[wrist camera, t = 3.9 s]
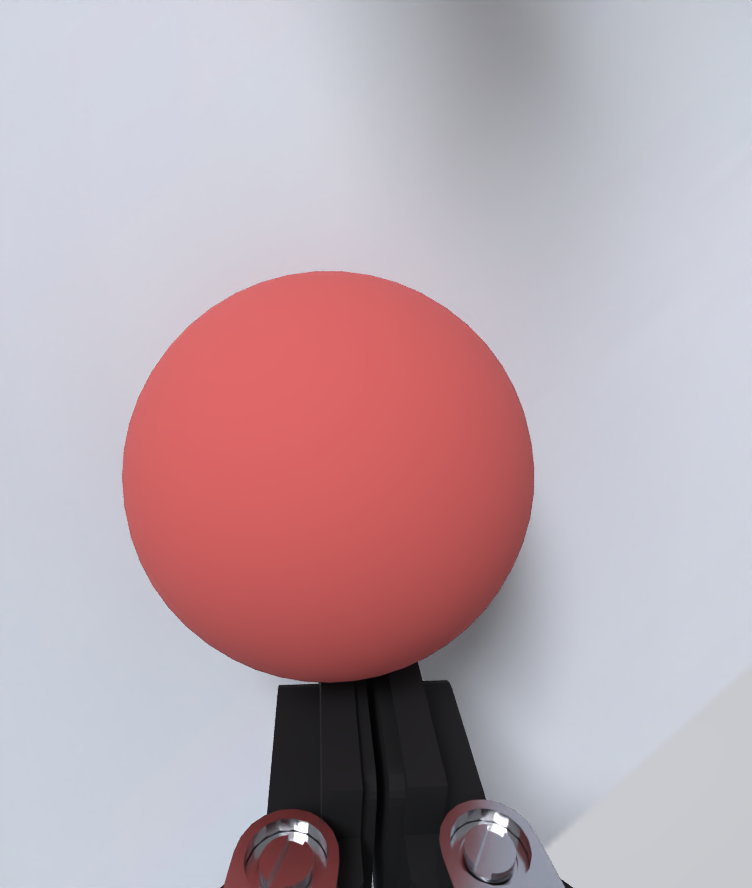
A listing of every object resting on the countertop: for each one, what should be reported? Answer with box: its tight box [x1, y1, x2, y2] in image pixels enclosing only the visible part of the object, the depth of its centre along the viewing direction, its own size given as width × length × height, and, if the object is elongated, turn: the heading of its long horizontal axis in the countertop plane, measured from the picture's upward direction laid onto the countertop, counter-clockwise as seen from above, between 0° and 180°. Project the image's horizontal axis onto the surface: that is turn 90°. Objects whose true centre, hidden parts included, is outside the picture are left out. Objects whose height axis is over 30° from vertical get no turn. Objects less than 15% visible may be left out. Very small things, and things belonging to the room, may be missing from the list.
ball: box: [122, 271, 534, 683], centre depth 9 cm, size 6×6×6 cm
